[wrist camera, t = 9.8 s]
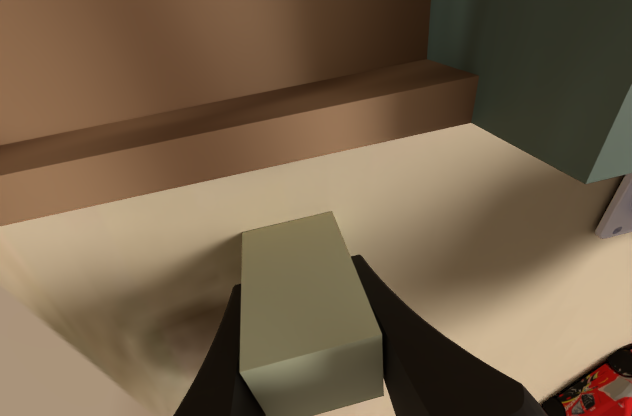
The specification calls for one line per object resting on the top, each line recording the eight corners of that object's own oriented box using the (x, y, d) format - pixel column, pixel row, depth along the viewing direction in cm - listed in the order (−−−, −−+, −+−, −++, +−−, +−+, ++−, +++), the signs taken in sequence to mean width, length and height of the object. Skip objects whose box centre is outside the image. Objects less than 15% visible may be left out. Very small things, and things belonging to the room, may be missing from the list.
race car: (634, 331, 29) (697, 384, 25) (669, 334, 31) (732, 383, 27) (521, 412, 36) (554, 463, 32) (556, 410, 39) (591, 457, 35)
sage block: (332, 211, 13) (382, 334, 8) (340, 272, 15) (383, 395, 11) (242, 232, 13) (239, 372, 8) (265, 291, 15) (273, 426, 10)
